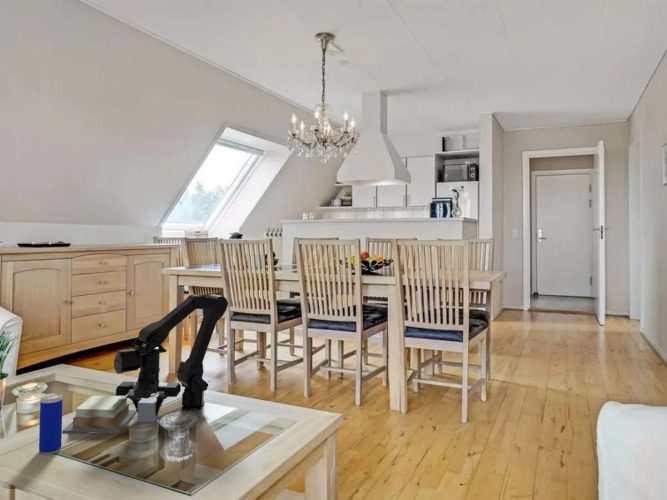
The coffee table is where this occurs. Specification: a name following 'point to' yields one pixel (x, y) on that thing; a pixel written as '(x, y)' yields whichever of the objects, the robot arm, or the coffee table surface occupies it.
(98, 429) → the grey square plate
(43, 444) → the beverage can
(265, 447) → the coffee table surface
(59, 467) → the coffee table surface
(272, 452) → the coffee table surface
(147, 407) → the top block
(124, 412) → the plinth
